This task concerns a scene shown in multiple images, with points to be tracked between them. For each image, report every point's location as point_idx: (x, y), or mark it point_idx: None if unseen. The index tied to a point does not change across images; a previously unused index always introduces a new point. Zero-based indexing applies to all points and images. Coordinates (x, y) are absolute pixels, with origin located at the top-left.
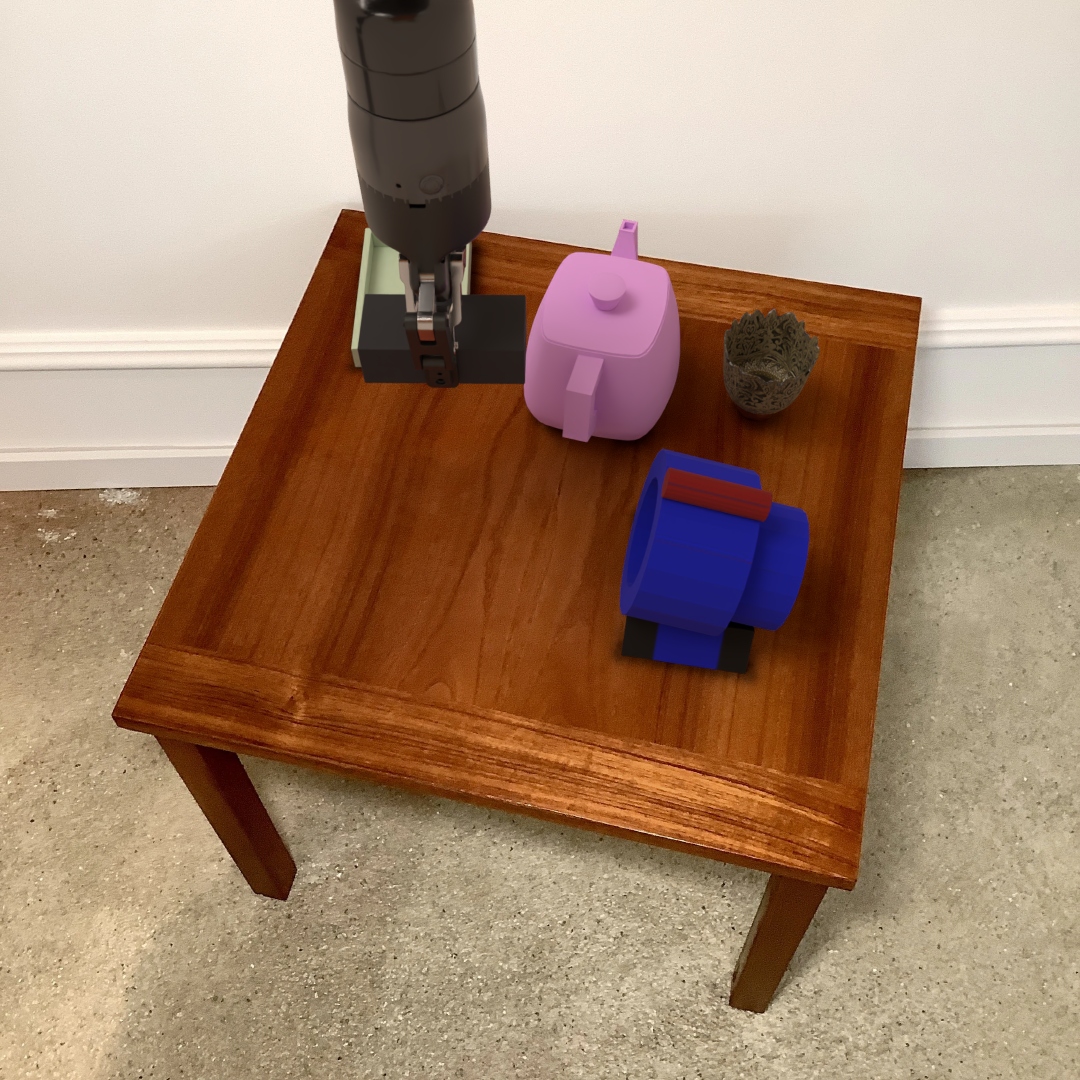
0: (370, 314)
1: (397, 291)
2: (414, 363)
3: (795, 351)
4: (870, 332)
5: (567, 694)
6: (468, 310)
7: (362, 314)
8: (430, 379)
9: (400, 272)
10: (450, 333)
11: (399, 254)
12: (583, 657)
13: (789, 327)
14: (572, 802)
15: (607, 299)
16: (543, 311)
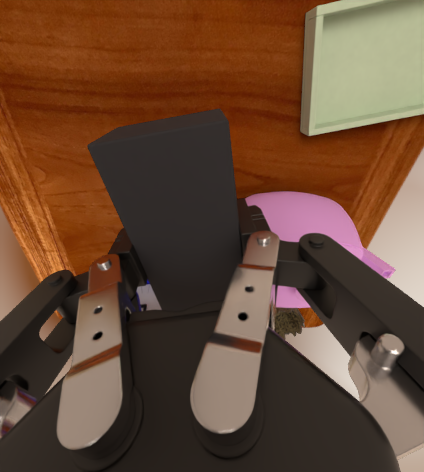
0: (175, 147)
1: (399, 38)
2: (29, 294)
3: (285, 319)
4: (309, 318)
5: (77, 237)
6: (214, 277)
7: (173, 130)
8: (118, 236)
9: (62, 400)
10: (55, 376)
11: (77, 448)
12: (100, 241)
13: (295, 325)
14: (25, 248)
15: (296, 294)
16: (298, 241)
